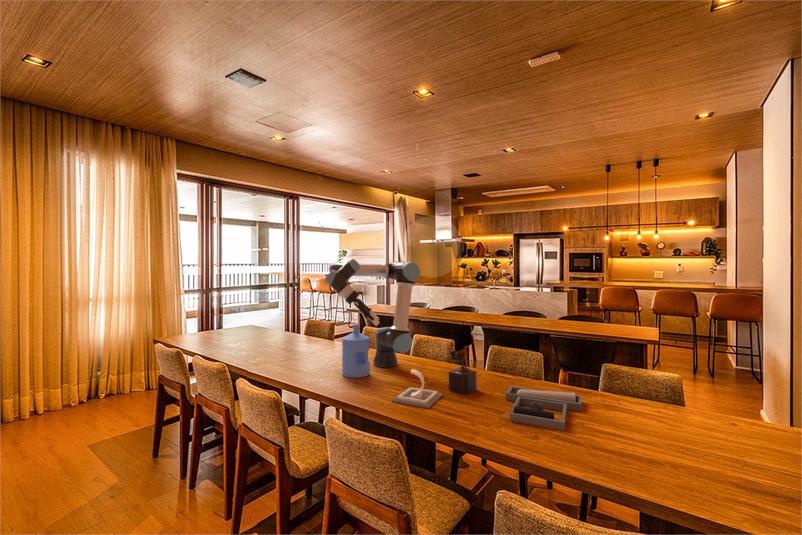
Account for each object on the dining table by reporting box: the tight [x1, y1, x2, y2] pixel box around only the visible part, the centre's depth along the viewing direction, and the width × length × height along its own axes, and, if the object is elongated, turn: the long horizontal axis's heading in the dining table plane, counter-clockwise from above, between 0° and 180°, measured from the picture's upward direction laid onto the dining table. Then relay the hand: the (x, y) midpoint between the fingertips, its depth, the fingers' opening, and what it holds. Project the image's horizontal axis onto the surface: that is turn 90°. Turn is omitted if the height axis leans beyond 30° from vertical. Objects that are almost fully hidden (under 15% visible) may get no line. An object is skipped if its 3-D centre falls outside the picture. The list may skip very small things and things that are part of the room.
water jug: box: [341, 324, 371, 379], centre depth 214 cm, size 16×16×28 cm
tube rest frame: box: [505, 385, 583, 412], centre depth 172 cm, size 11×31×3 cm, turn 64°
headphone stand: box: [410, 368, 425, 398], centre depth 175 cm, size 5×6×12 cm
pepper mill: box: [448, 349, 478, 395], centre depth 189 cm, size 16×11×18 cm
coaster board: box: [391, 386, 444, 409], centre depth 175 cm, size 18×18×2 cm
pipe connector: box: [513, 402, 555, 420], centre depth 153 cm, size 12×5×15 cm
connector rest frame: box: [508, 396, 568, 431], centre depth 155 cm, size 21×20×3 cm
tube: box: [517, 389, 576, 403], centre depth 171 cm, size 5×5×25 cm
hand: (377, 322), depth 202 cm, fingers open, 13 cm apart
